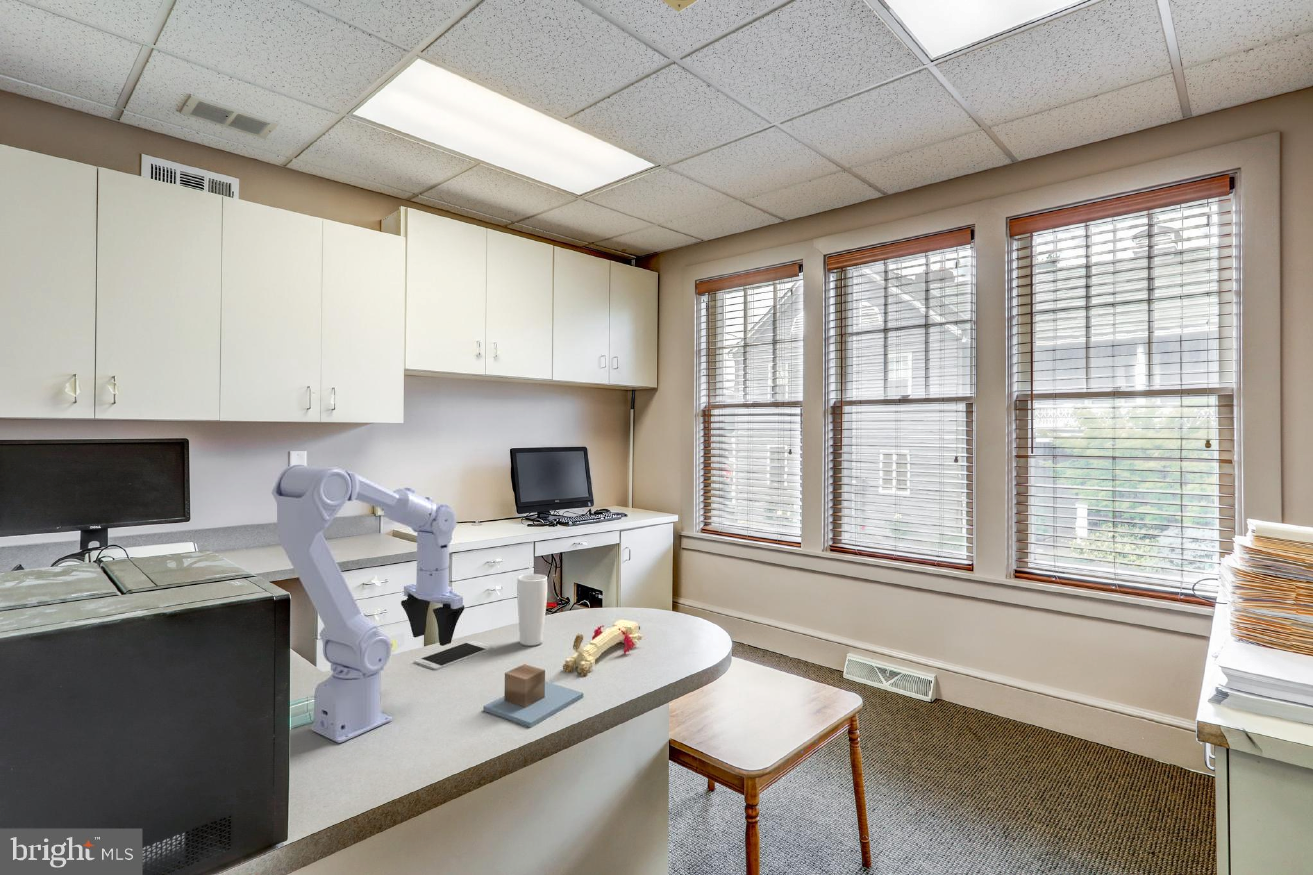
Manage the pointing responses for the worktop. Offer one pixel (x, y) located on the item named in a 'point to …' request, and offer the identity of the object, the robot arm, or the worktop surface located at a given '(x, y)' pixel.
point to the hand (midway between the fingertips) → (431, 639)
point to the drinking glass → (531, 608)
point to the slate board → (535, 705)
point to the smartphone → (453, 655)
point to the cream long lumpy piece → (602, 644)
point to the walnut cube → (524, 685)
